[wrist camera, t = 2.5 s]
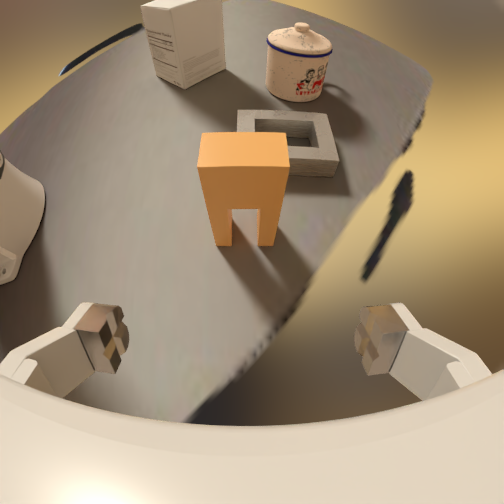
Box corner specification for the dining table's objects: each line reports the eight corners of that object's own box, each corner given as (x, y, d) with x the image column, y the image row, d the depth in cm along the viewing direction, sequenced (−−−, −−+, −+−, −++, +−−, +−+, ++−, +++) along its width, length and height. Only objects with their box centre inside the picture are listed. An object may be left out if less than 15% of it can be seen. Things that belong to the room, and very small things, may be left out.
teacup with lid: (301, 112, 35) (314, 41, 24) (251, 87, 37) (253, 22, 26) (340, 84, 38) (355, 28, 27) (296, 63, 40) (303, 9, 30)
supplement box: (195, 56, 41) (187, -11, 27) (227, 69, 39) (224, -8, 25) (154, 76, 39) (138, 5, 25) (183, 91, 37) (169, 8, 23)
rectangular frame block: (332, 177, 30) (339, 160, 28) (236, 174, 30) (235, 157, 27) (321, 130, 33) (326, 113, 31) (238, 127, 33) (237, 109, 30)
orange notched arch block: (271, 218, 28) (285, 132, 17) (273, 245, 27) (289, 166, 16) (217, 218, 28) (202, 133, 17) (216, 246, 27) (197, 167, 16)
